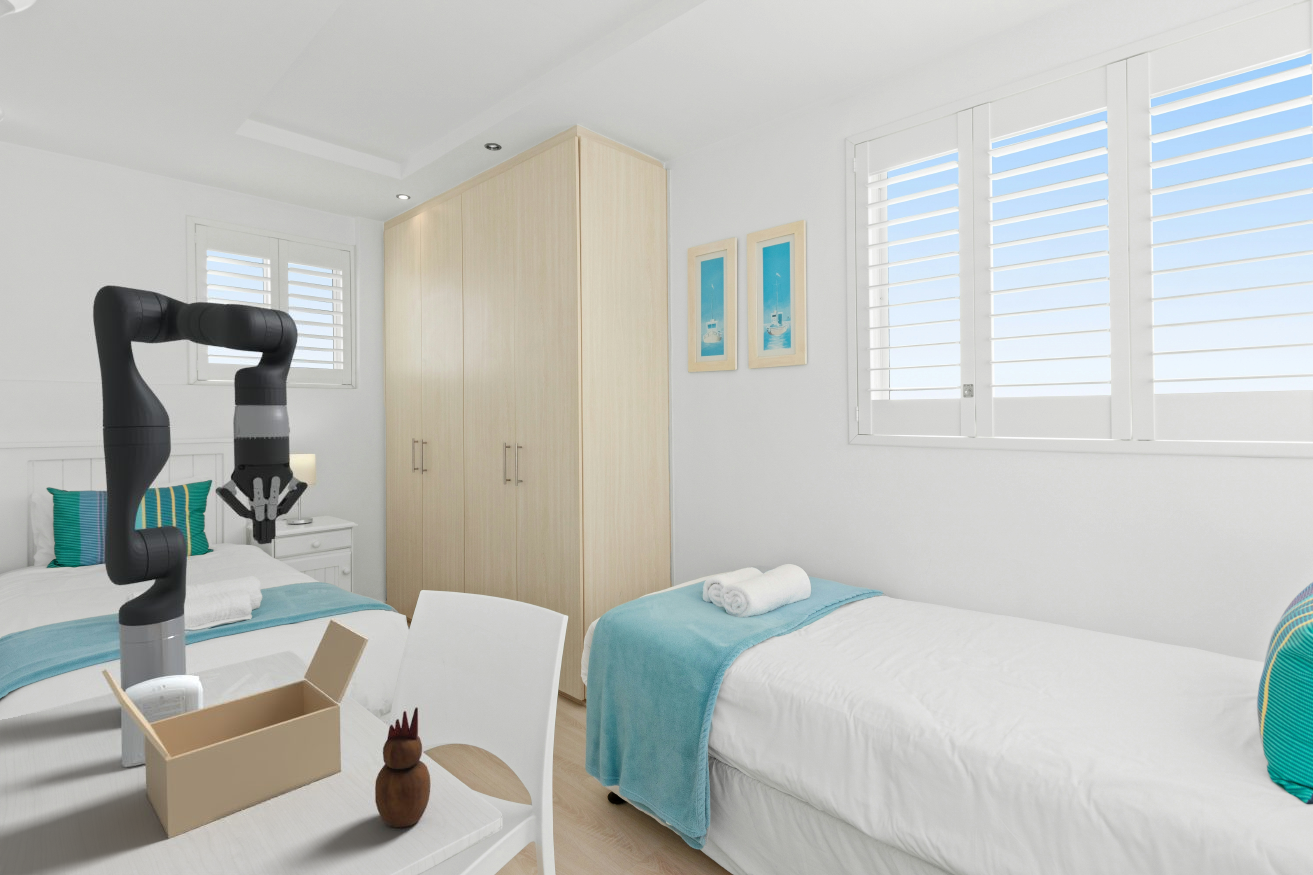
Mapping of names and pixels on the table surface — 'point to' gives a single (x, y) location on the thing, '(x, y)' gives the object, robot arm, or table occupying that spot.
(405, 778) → the wooden figurine
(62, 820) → the table surface
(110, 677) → the near flap
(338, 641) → the far flap
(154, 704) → the photo printer
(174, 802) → the carton
